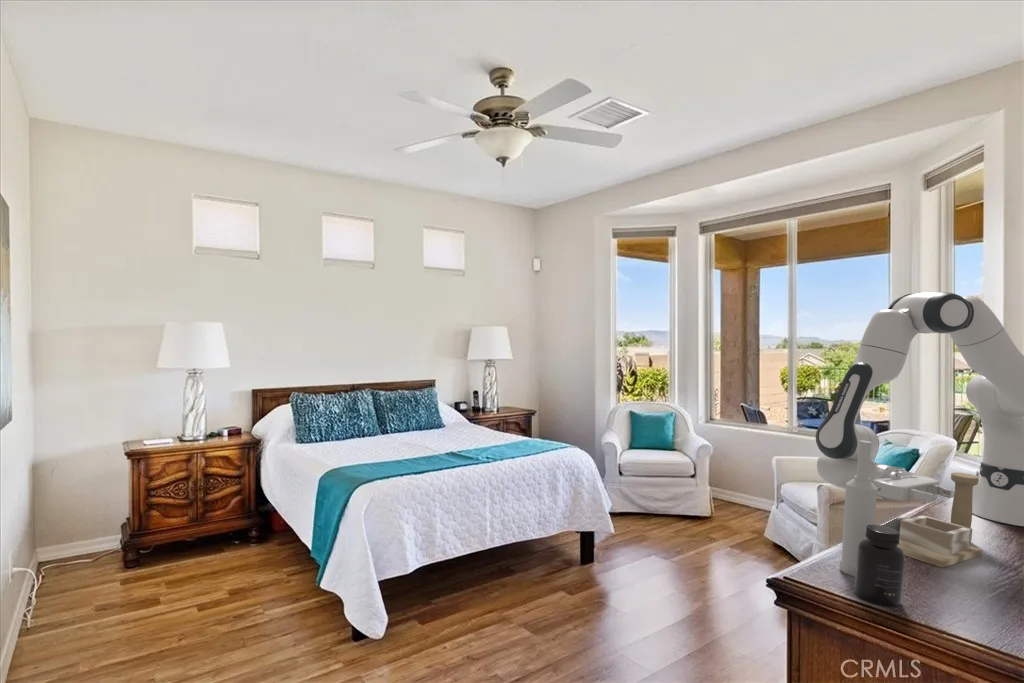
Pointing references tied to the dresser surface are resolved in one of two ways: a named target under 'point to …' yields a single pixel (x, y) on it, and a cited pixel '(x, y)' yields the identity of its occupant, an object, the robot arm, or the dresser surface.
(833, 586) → the dresser surface
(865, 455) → the bottle
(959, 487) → the handle
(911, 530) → the tool holder
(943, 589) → the dresser surface
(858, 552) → the supplement bottle
